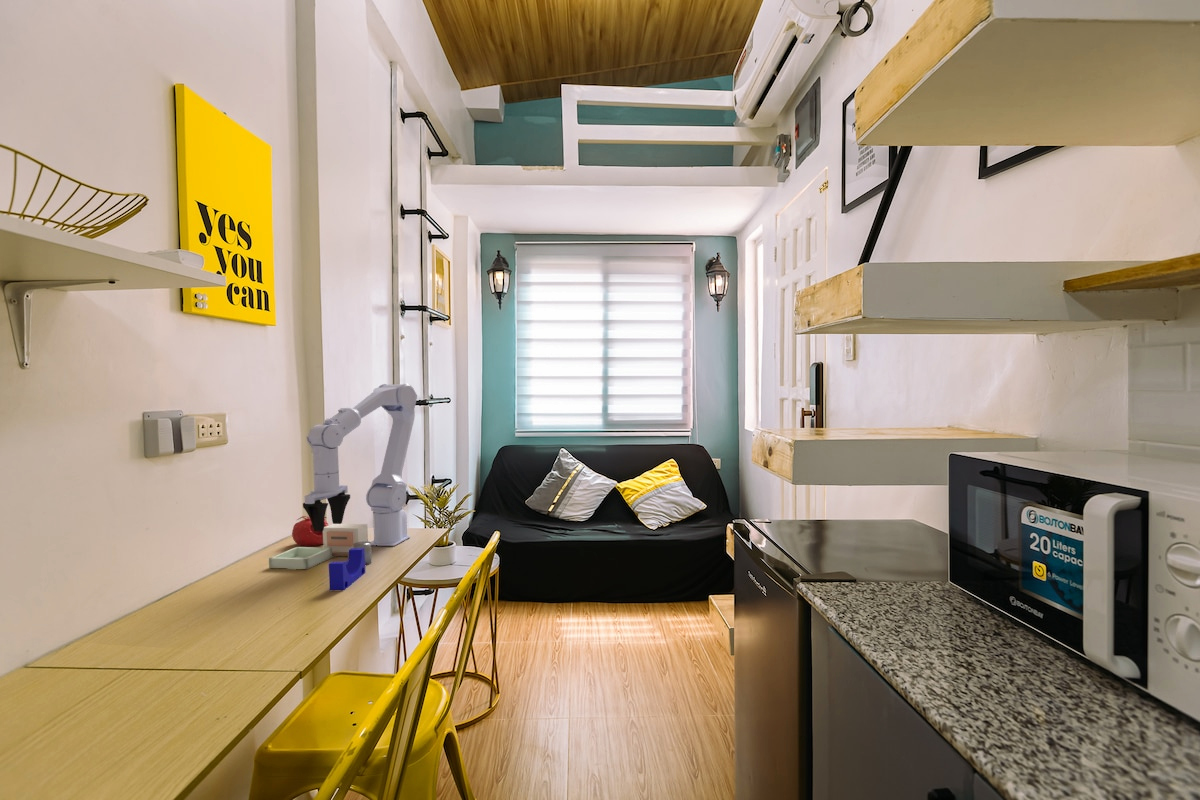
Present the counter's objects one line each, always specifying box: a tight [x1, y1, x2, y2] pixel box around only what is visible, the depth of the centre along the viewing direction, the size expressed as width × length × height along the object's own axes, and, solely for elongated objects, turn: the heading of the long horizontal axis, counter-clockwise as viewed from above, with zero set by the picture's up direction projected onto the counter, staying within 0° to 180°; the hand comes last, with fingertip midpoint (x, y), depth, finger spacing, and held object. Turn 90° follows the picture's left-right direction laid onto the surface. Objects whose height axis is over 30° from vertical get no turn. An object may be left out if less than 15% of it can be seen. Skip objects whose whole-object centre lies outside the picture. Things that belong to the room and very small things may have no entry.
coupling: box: [353, 540, 373, 566], centre depth 149 cm, size 4×4×5 cm
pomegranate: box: [291, 515, 329, 547], centre depth 169 cm, size 10×10×9 cm
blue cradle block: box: [328, 548, 366, 591], centre depth 136 cm, size 12×4×6 cm, turn 0°
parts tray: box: [268, 546, 333, 570], centre depth 151 cm, size 10×10×2 cm
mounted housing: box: [322, 523, 373, 557], centre depth 159 cm, size 6×12×7 cm, turn 80°
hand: (328, 527), depth 152 cm, fingers open, 7 cm apart
